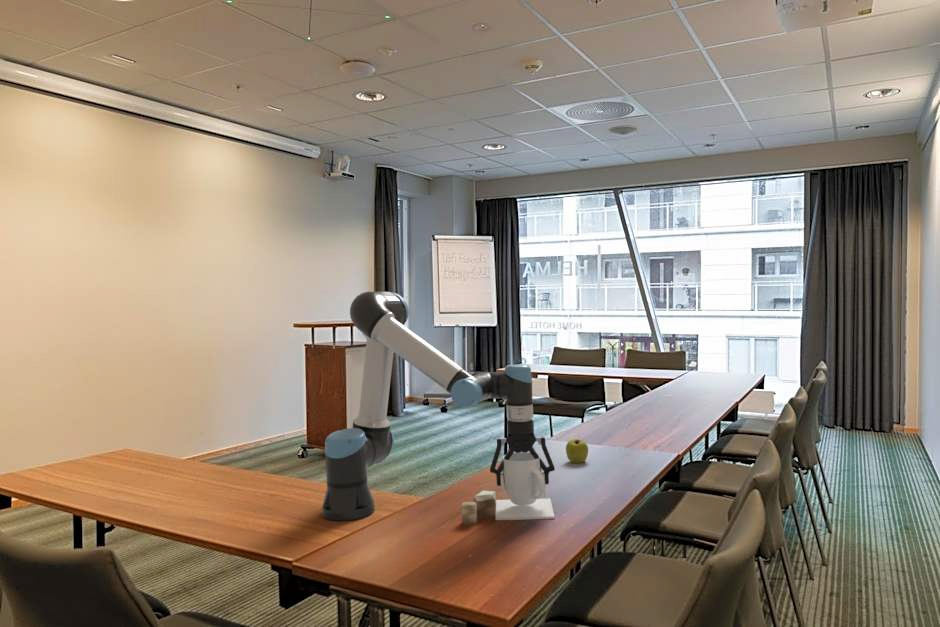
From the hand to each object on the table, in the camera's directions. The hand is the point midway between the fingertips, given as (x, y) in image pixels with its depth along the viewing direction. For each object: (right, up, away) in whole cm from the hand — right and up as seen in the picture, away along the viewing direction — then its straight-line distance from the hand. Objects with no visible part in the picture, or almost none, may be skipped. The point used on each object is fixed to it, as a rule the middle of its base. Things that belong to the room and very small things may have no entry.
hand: (523, 496), depth 184 cm
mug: (+1, -2, 0) cm, 2 cm away
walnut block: (-11, -5, -3) cm, 12 cm away
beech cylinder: (-15, -5, -8) cm, 18 cm away
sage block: (-11, -5, +4) cm, 12 cm away
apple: (+24, -2, +51) cm, 56 cm away
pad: (0, -4, 0) cm, 4 cm away
